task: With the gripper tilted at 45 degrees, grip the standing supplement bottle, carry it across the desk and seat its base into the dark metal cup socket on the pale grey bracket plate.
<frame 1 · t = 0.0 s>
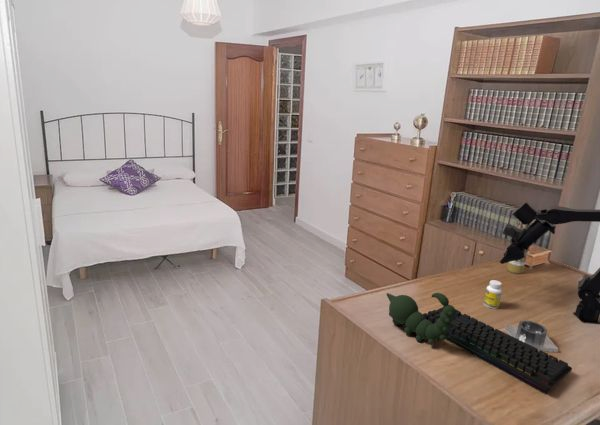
hand: (502, 259, 169), 15 cm above the table, tool tilted 35°, fingers open, 9 cm apart
toy figurine: (413, 333, 141), on the table
cup bracket: (529, 339, 141), on the table
bark textured cylinder: (514, 271, 196), on the table
keyboard: (487, 349, 136), on the table
supplement bottle: (490, 306, 163), on the table
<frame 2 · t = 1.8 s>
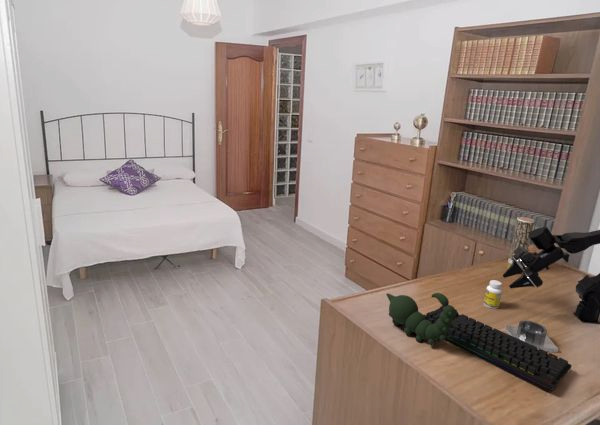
hand: (506, 281, 159), 11 cm above the table, tool tilted 45°, fingers open, 9 cm apart
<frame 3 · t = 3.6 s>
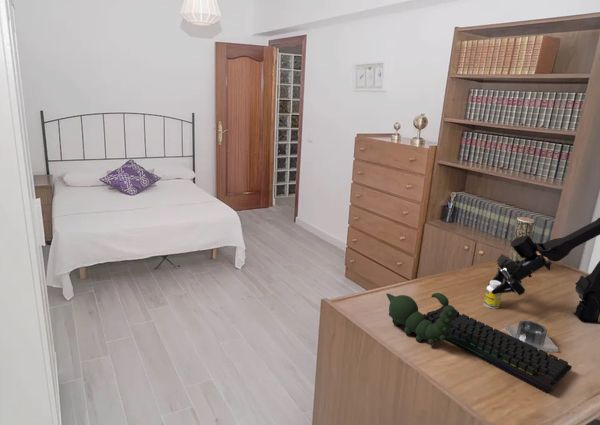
hand: (490, 289, 161), 7 cm above the table, tool tilted 45°, fingers closed on supplement bottle, 5 cm apart
supplement bottle: (490, 306, 163), on the table, touching gripper
everything else where it was.
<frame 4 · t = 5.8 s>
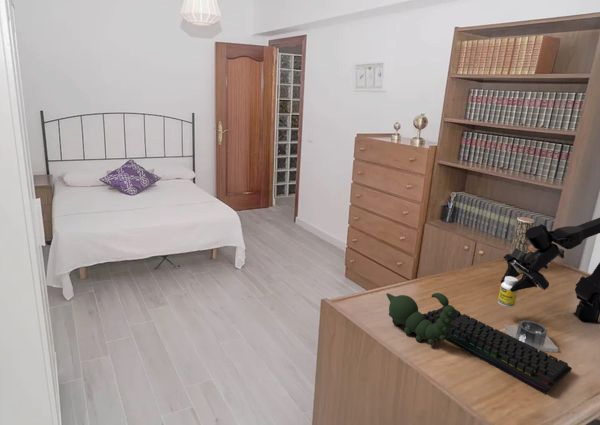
hand: (506, 286, 148), 13 cm above the table, tool tilted 45°, fingers closed on supplement bottle, 5 cm apart
supplement bottle: (505, 304, 151), point 6 cm above the table, touching gripper
everything else where it was.
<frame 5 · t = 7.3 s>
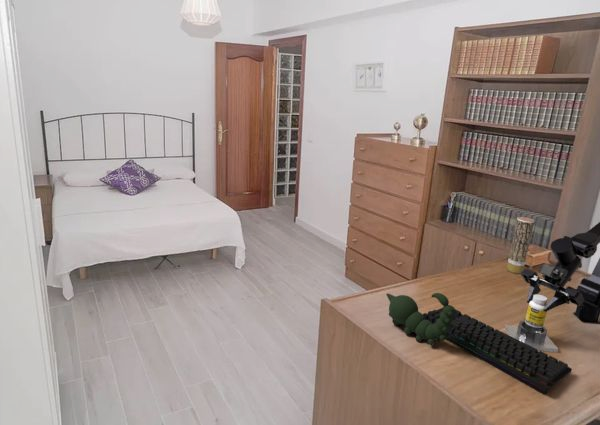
hand: (535, 306, 137), 13 cm above the table, tool tilted 45°, fingers closed on supplement bottle, 5 cm apart
supplement bottle: (533, 324, 140), point 6 cm above the table, touching gripper
everything else where it was.
when the fingers open (9 cm above the table, at t = 8.4 s): supplement bottle stays where it is, resting on cup bracket.
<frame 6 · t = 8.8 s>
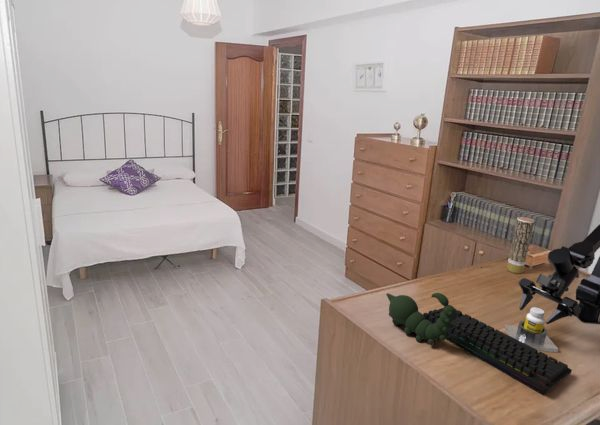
hand: (533, 316, 138), 9 cm above the table, tool tilted 45°, fingers open, 9 cm apart
supplement bottle: (530, 336, 141), point 1 cm above the table, touching cup bracket
everything else where it was.
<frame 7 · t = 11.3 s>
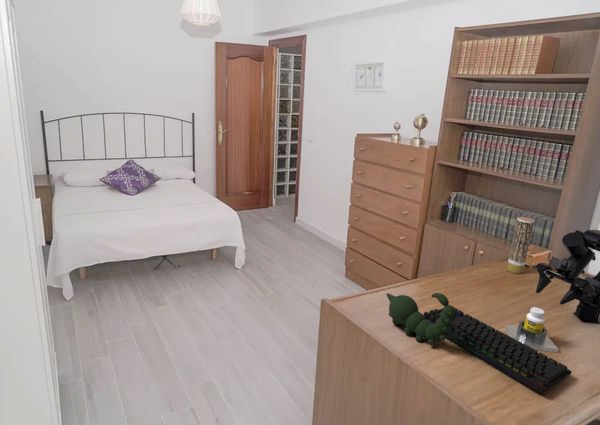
hand: (548, 298, 144), 13 cm above the table, tool tilted 40°, fingers open, 9 cm apart
nothing on the table moved.
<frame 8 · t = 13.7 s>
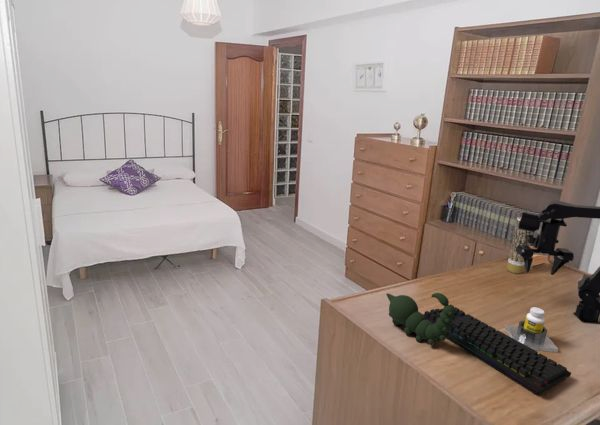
hand: (539, 273, 162), 13 cm above the table, tool pointing down, fingers open, 9 cm apart
at the end: supplement bottle 0.2 cm off-centre on the cup bracket, point 1.0 cm above the cup bracket's base; supplement bottle tilted 0°; the gripper is holding nothing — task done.
